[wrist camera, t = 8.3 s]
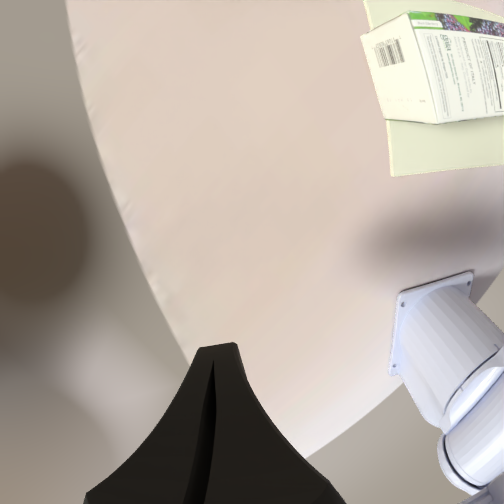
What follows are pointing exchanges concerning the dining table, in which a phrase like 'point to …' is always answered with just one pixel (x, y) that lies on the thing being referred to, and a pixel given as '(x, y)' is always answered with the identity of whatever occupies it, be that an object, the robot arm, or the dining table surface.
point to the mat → (443, 135)
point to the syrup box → (437, 67)
